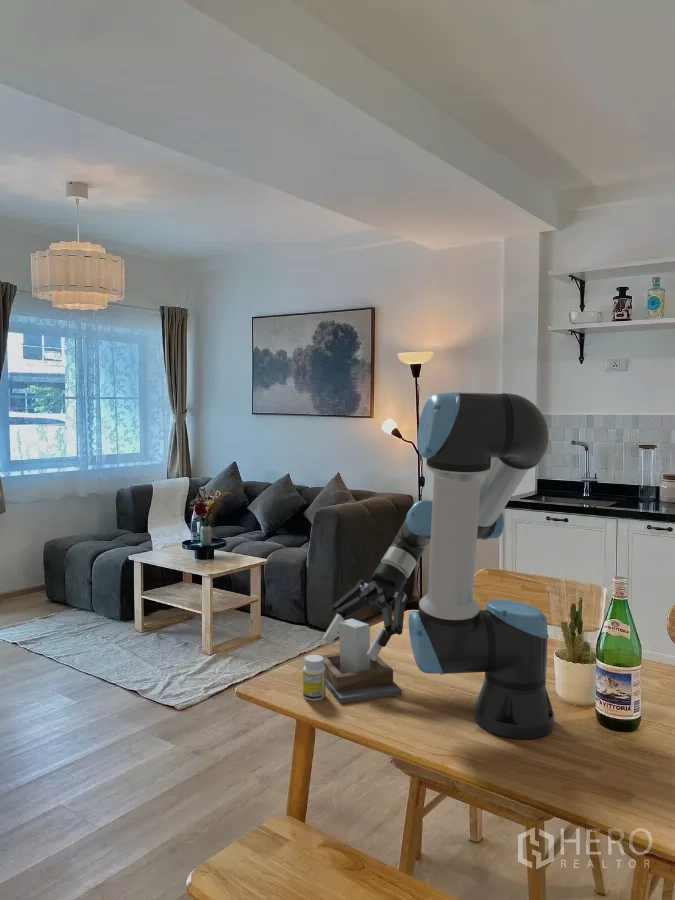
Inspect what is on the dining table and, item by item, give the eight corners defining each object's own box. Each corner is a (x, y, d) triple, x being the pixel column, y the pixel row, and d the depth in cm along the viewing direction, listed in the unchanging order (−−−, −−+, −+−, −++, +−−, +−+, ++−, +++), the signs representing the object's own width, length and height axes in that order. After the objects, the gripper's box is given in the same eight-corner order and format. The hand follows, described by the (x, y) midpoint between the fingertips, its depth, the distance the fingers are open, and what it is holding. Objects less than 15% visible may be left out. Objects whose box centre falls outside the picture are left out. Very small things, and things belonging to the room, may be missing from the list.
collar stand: (401, 694, 149) (402, 675, 149) (339, 703, 145) (340, 683, 144) (367, 661, 168) (367, 644, 168) (311, 668, 163) (311, 650, 163)
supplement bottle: (312, 690, 151) (312, 652, 151) (329, 695, 149) (330, 657, 148) (298, 697, 147) (298, 658, 147) (316, 703, 145) (316, 663, 144)
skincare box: (371, 677, 155) (371, 624, 155) (356, 682, 153) (356, 628, 152) (352, 669, 160) (353, 617, 159) (337, 673, 157) (338, 621, 156)
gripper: (443, 590, 157) (398, 673, 147) (363, 570, 174) (318, 643, 165) (428, 571, 153) (381, 655, 143) (348, 552, 170) (301, 626, 161)
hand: (347, 649), depth 154 cm, fingers open, 13 cm apart
